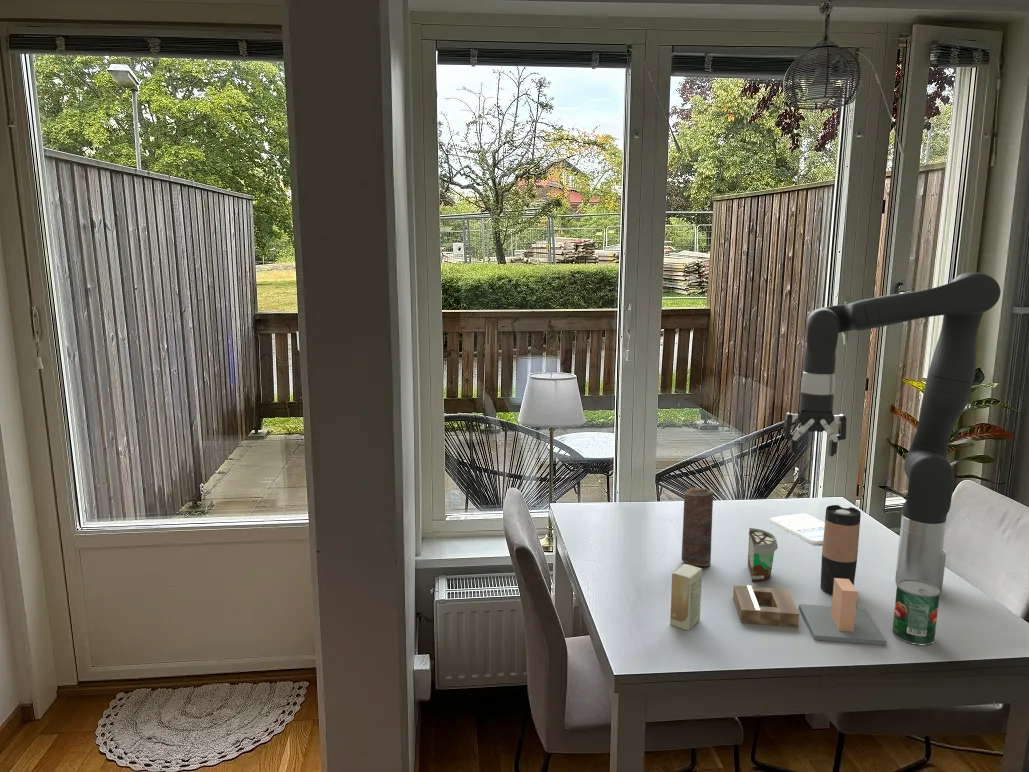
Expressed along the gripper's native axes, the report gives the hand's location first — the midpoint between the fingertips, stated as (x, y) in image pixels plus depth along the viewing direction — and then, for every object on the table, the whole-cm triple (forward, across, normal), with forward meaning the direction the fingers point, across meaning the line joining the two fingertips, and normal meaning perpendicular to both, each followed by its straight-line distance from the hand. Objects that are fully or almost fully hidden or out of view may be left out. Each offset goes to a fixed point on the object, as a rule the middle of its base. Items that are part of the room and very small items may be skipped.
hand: (812, 455), depth 179 cm
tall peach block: (+29, -1, +30) cm, 42 cm away
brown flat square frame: (+30, +14, +25) cm, 42 cm away
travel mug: (+30, -5, +11) cm, 33 cm away
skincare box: (+30, +32, +33) cm, 55 cm away
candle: (+30, +27, +1) cm, 41 cm away
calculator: (+31, -8, -29) cm, 43 cm away
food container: (+30, +11, +5) cm, 33 cm away
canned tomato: (+30, -15, +31) cm, 46 cm away
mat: (+30, -1, +29) cm, 42 cm away
